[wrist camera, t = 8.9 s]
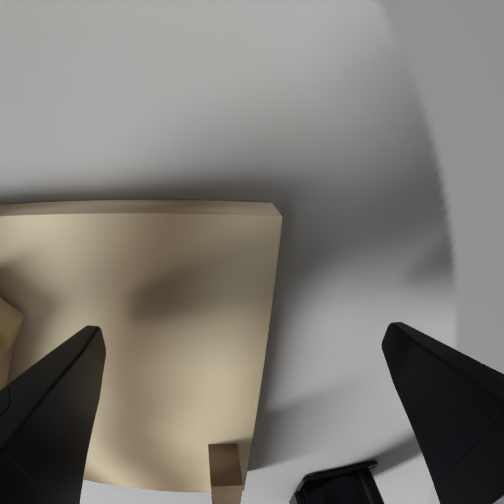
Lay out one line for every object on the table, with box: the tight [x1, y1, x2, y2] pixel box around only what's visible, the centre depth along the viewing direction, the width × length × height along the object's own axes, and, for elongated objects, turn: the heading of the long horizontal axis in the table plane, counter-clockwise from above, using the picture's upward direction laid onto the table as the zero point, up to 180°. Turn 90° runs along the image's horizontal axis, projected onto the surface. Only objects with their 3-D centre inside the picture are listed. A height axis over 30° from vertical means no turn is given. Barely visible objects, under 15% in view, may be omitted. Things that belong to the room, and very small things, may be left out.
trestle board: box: [0, 200, 283, 504], centre depth 9 cm, size 22×18×5 cm
